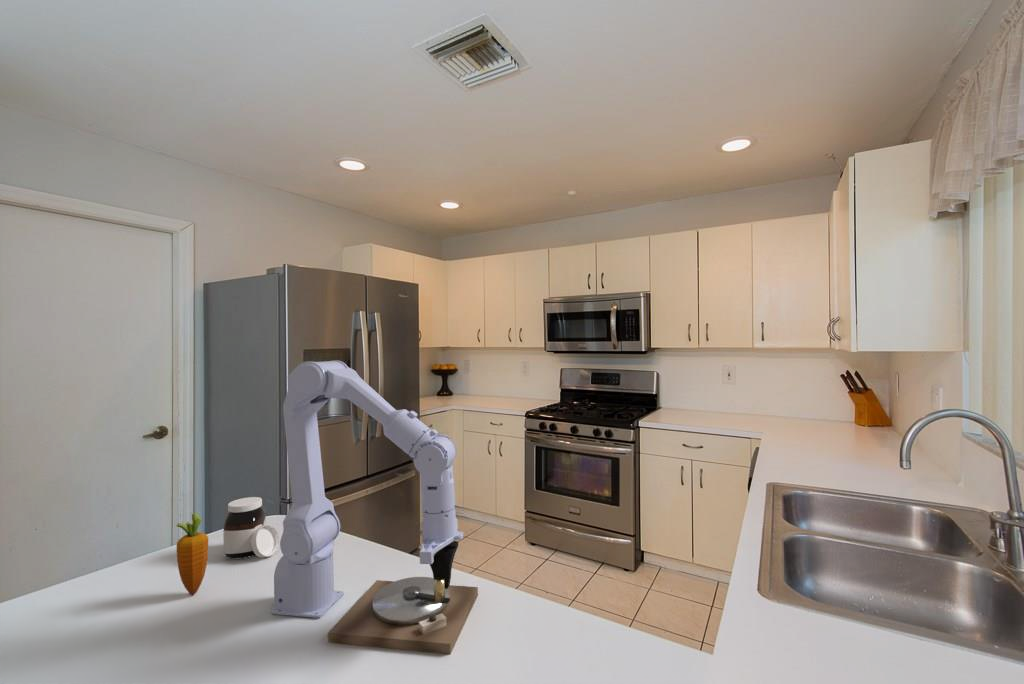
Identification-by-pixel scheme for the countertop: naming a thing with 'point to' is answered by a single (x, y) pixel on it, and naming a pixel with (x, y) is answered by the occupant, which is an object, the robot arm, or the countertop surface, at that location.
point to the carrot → (192, 555)
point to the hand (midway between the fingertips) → (442, 587)
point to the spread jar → (248, 530)
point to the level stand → (421, 636)
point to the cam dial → (411, 600)
